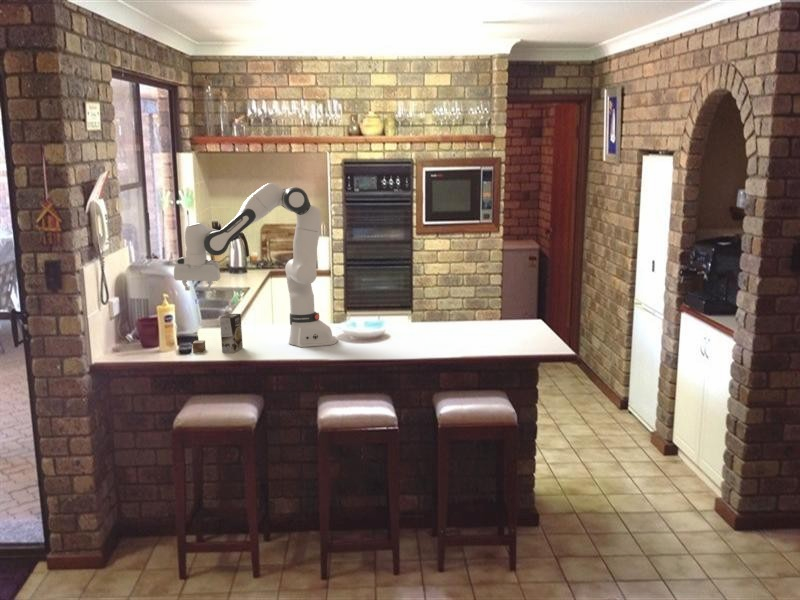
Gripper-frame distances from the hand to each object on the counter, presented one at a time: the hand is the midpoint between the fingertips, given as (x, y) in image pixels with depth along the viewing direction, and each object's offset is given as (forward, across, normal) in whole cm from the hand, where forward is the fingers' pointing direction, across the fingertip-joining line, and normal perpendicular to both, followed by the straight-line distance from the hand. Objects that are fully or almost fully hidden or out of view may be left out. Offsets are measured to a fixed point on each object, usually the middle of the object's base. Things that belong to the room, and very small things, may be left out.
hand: (197, 290), depth 330 cm
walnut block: (+28, 0, +1) cm, 28 cm away
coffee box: (+27, -15, 0) cm, 31 cm away
